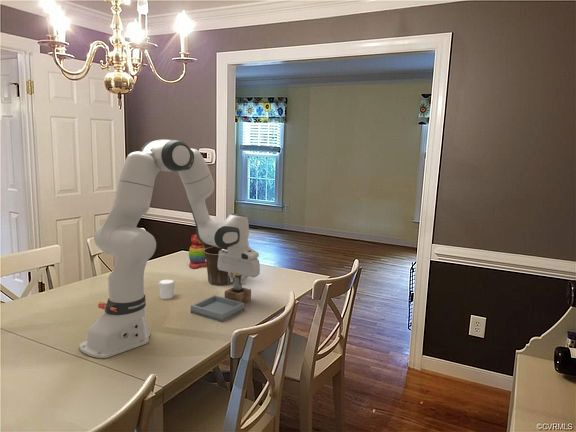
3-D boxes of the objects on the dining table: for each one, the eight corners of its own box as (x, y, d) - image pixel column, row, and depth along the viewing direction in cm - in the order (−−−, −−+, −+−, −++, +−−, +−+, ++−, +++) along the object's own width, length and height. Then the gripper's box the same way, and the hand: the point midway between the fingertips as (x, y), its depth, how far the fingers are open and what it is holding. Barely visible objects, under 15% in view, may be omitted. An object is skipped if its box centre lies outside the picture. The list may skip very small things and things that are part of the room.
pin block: (239, 306, 170) (239, 294, 169) (224, 302, 174) (224, 291, 173) (251, 300, 176) (251, 289, 175) (236, 296, 180) (236, 286, 180)
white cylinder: (170, 300, 174) (169, 284, 173) (155, 298, 176) (155, 283, 175) (177, 294, 181) (177, 279, 180) (163, 293, 182) (163, 278, 181)
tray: (222, 322, 154) (222, 314, 153) (190, 312, 162) (190, 305, 161) (244, 310, 166) (244, 303, 165) (214, 301, 174) (214, 295, 173)
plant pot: (222, 289, 189) (222, 255, 186) (196, 283, 197) (196, 250, 195) (243, 280, 203) (244, 249, 200) (219, 274, 211) (219, 244, 208)
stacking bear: (193, 269, 219) (192, 237, 216) (184, 265, 226) (184, 233, 223) (211, 266, 226) (210, 234, 223) (202, 262, 233) (202, 231, 230)
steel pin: (238, 304, 172) (239, 274, 170) (230, 302, 174) (230, 272, 172) (245, 300, 176) (245, 271, 174) (236, 298, 178) (237, 269, 176)
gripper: (214, 249, 174) (214, 280, 176) (253, 257, 164) (252, 290, 166) (223, 246, 179) (223, 277, 181) (262, 253, 169) (261, 285, 171)
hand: (237, 283), depth 174 cm, fingers closed on steel pin, 4 cm apart
